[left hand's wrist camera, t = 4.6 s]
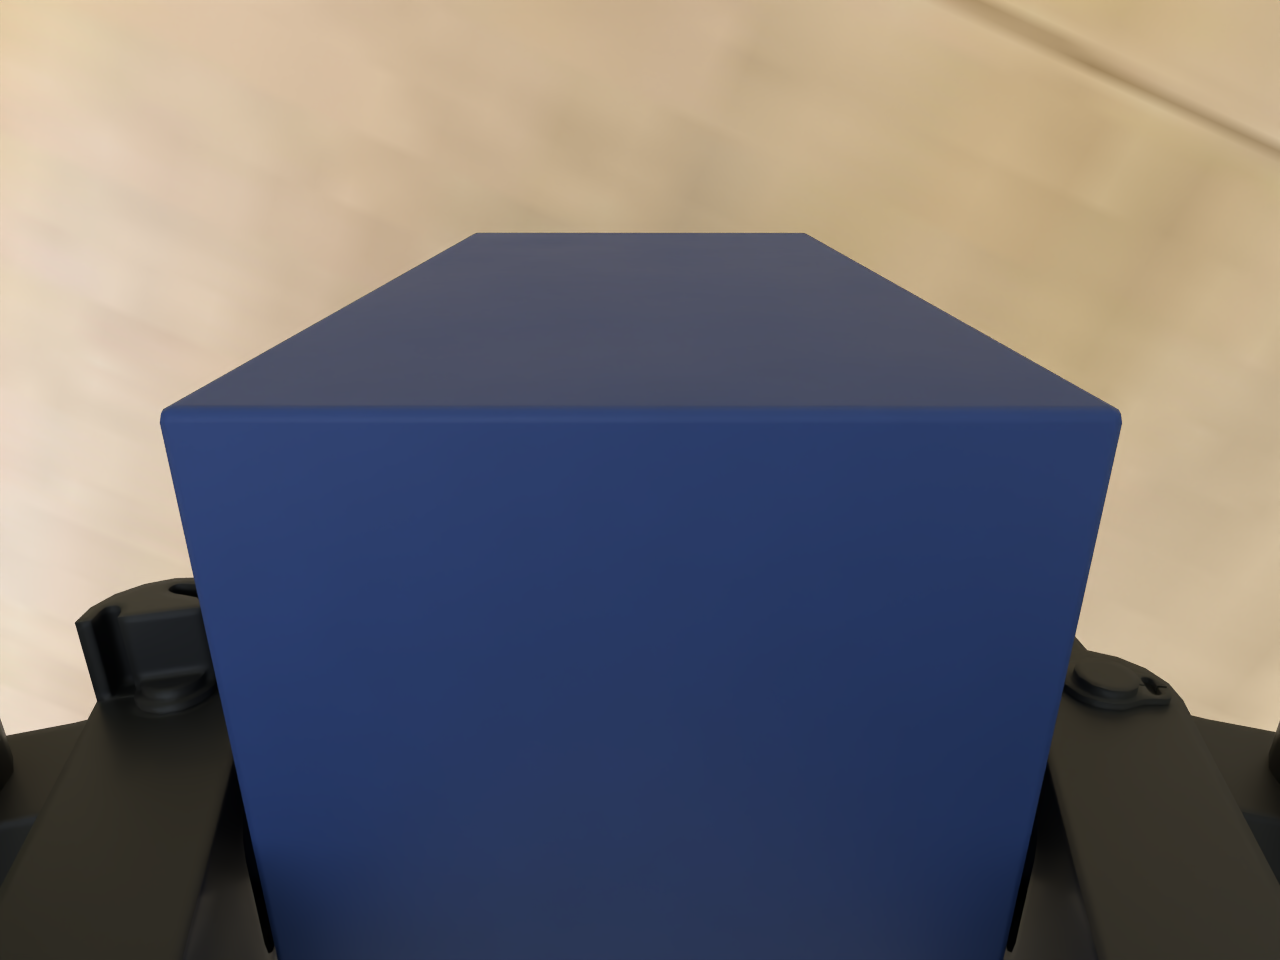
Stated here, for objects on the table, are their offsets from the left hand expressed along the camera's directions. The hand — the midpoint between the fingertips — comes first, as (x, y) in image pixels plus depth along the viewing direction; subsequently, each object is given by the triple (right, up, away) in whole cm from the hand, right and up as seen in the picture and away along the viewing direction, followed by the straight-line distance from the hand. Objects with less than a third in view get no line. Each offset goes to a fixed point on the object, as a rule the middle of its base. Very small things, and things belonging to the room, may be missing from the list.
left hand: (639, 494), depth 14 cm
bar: (0, -9, +4) cm, 9 cm away
